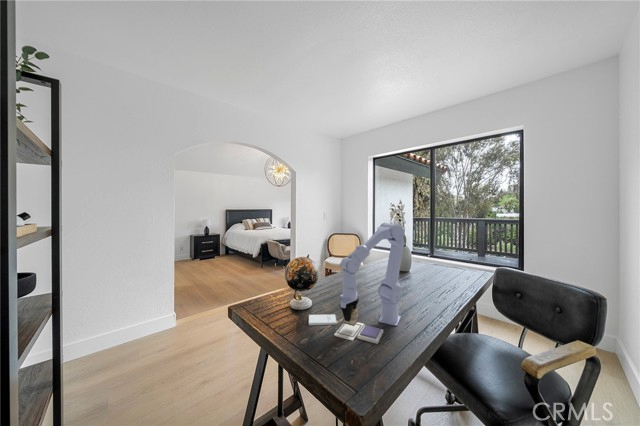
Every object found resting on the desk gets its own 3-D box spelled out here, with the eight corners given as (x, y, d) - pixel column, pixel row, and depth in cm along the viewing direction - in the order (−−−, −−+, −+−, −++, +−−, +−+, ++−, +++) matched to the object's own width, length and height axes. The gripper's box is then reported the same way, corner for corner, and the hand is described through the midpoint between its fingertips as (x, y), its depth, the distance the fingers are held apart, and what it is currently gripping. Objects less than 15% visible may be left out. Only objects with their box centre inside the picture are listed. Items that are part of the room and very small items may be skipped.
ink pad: (364, 327, 101) (364, 323, 101) (383, 332, 97) (383, 328, 97) (357, 338, 93) (357, 333, 93) (377, 343, 89) (377, 339, 89)
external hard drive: (308, 317, 112) (335, 317, 112) (308, 326, 104) (336, 325, 104) (308, 314, 112) (335, 313, 112) (308, 323, 103) (336, 322, 104)
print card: (347, 320, 107) (347, 319, 107) (364, 324, 104) (364, 323, 104) (333, 335, 95) (333, 334, 95) (352, 340, 91) (352, 339, 91)
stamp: (347, 318, 102) (348, 307, 102) (357, 321, 100) (357, 309, 100) (343, 323, 98) (344, 311, 98) (353, 326, 96) (354, 314, 96)
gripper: (347, 280, 107) (347, 309, 107) (333, 290, 94) (333, 323, 95) (362, 282, 104) (362, 312, 104) (349, 293, 91) (350, 327, 91)
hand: (349, 318), depth 99 cm, fingers closed on stamp, 4 cm apart
